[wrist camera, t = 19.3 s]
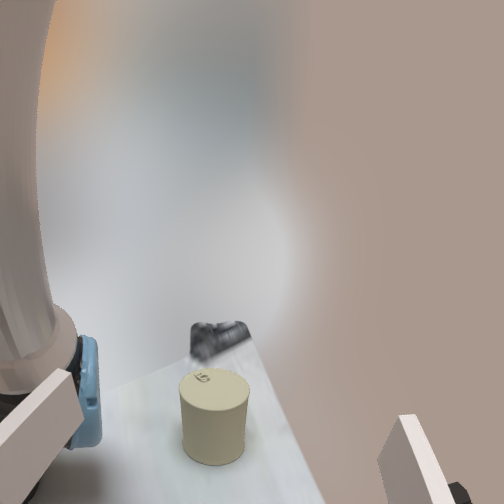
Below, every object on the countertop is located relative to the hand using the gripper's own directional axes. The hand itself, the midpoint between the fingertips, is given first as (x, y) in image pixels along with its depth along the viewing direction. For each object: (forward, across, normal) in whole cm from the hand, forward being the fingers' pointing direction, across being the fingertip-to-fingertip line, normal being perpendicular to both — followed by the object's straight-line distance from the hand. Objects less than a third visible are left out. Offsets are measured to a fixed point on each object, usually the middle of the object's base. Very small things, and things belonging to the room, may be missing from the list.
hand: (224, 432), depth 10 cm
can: (+23, -5, -28) cm, 37 cm away
